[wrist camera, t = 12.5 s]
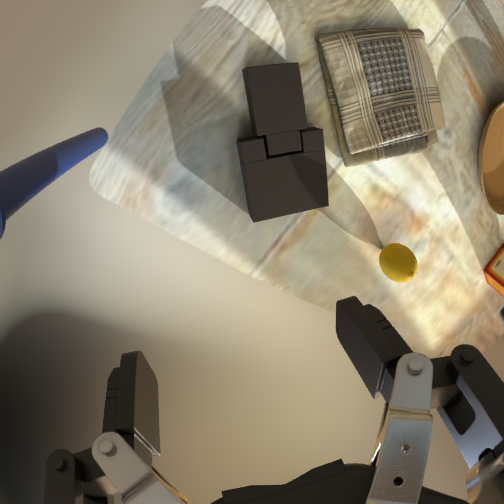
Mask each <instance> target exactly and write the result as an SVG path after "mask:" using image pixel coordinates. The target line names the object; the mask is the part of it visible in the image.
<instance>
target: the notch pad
mask: <svg viewBox="0 0 504 504" xmlns="http://www.w3.org/2000/svg"><path fill="white" fill-rule="evenodd" d="M299 131H300V139H301V148H302V150H298V151H292V152H286V153H281V154H275V155H268V154H266V153H265V146H264V140H263V138H262V137H260V136H253V137H247V138H242V139H237V140H236V141H237V147H238V152H239V158H240V164H241V169H242V175H243V181H244V187H245V192H246V198H247V204H248V209H249V215H250V217H251V219H252V221H253V222H259V221H263V220H267V219H272V218H276V217H281V216H285V215H289V214H294V213H298V212H303V211H307V210H312V209H317V208H321V207H326V206H329V202H328V187H327V173H326V160H325V150H324V149H325V148H324V138H323V129H319V128H316V127H311V128H306V129H299Z"/></svg>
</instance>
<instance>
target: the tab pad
mask: <svg viewBox="0 0 504 504" xmlns="http://www.w3.org/2000/svg"><path fill="white" fill-rule="evenodd" d="M242 71H243V77H244V83H245V89H246V95H247V101H248V107H249V113H250V119H251V125H252V131H253V134H255V135H257V136H260V135H262V138H263V140H264V146H265V153H267V154H268V155H275V154H281V153H286V152H292V151H298V150H302V148H301V139H300V131H299V129H306V128H307V122H306V114H305V106H304V98H303V91H302V84H301V77H300V70H299V64H298V63H285V64H273V65H264V66H255V67H247V68H245V69H243V70H242Z"/></svg>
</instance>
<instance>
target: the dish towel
mask: <svg viewBox="0 0 504 504" xmlns="http://www.w3.org/2000/svg"><path fill="white" fill-rule="evenodd" d="M315 41H316V44H317V47H318V52H319V57H320V63H321V66H322V71H323V74H324V79H325V84H326V88H327V93H328V97H329V101H330V105H331V109H332V113H333V118H334V122H335V126H336V132H337V137H338V142H339V147H340V149H341V154H342V158H343V162H344V165H345V167H350V166H357V165H362V164H366V163H369V162H373V161H378V160H382V159H387V158H392V157H398V156H402V155H407V154H413V153H420V152H423V151H425V150H427V145H430V144H434V143H437V142H438V140H437V135H436V129H440V128H445V122H444V117H443V111H442V106H441V100H440V96H439V91H438V87H437V82H436V77H435V73H434V69H433V65H432V62H431V58H430V56H429V52H428V48H427V44H426V41H425V36H424V33H423V32H422V31H421V30H420V29H395V28H380V29H363V30H351V31H344V32H336V33H330V34H324V35H320V36H317V37H315Z"/></svg>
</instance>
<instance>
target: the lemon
mask: <svg viewBox="0 0 504 504" xmlns="http://www.w3.org/2000/svg"><path fill="white" fill-rule="evenodd" d="M379 264H380V267H381V269H382V271H383V273H384V274H385V275H386V276H387V277H388V278H390V279H391V280H393V281H395V282H399V283H404V282H407V281H409V280H411V279H412V278H413V277H414V276H415V274H416V271H417V260H416V258H415V256H414V254H413V253H412V252H411V250H410V249H409V248H407V247H406V246H404V245H402V244H399V243H392V244H389V245H387V246H386V247H385V248H384V249H383V250H382V251H381V254H380V257H379Z"/></svg>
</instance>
